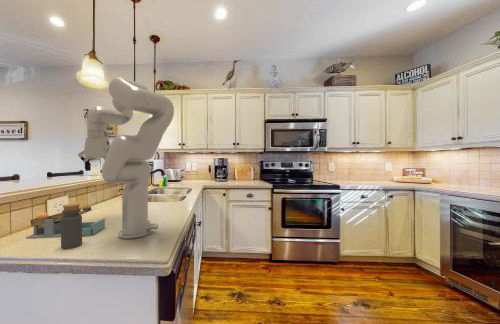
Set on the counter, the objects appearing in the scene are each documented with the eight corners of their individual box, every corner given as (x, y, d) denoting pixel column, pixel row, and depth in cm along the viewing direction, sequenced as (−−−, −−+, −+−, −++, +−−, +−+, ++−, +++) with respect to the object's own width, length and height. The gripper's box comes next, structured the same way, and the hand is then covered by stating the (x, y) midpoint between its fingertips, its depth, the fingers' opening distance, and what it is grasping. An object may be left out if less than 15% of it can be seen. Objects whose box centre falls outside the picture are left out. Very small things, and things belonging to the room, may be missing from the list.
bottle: (69, 249, 73) (69, 206, 73) (56, 248, 74) (56, 205, 74) (86, 243, 79) (86, 203, 79) (73, 242, 80) (73, 202, 80)
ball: (51, 218, 90) (49, 210, 90) (44, 220, 87) (42, 212, 87) (42, 220, 90) (40, 212, 90) (35, 223, 86) (33, 214, 86)
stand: (81, 229, 95) (81, 213, 95) (67, 236, 86) (66, 219, 86) (44, 231, 92) (44, 215, 92) (26, 238, 84) (26, 220, 84)
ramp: (93, 212, 103) (92, 204, 103) (71, 222, 87) (69, 212, 87) (60, 219, 101) (58, 210, 100) (31, 229, 85) (29, 220, 85)
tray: (104, 228, 97) (104, 218, 97) (92, 235, 87) (92, 224, 87) (82, 229, 95) (82, 219, 95) (67, 237, 85) (66, 225, 85)
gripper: (120, 136, 109) (120, 170, 109) (82, 135, 106) (82, 170, 106) (113, 134, 102) (113, 170, 102) (72, 133, 99) (72, 171, 99)
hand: (97, 170), depth 104 cm, fingers open, 7 cm apart
